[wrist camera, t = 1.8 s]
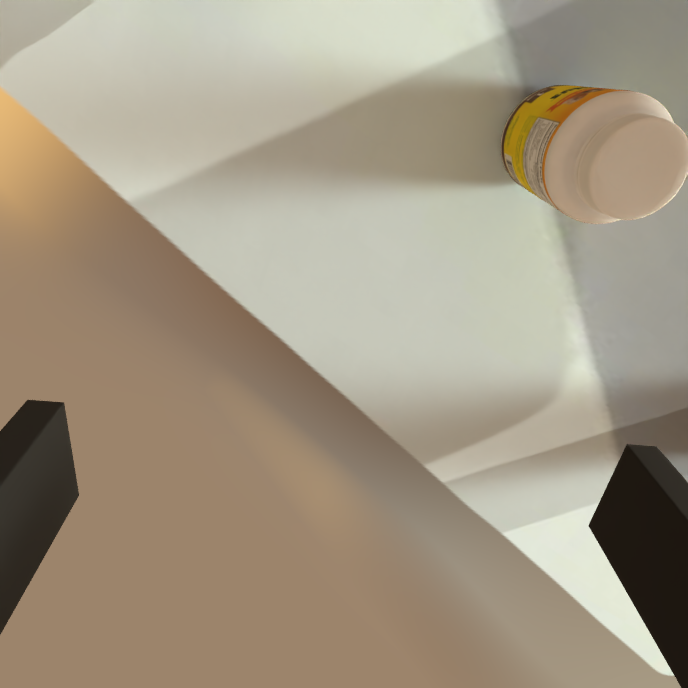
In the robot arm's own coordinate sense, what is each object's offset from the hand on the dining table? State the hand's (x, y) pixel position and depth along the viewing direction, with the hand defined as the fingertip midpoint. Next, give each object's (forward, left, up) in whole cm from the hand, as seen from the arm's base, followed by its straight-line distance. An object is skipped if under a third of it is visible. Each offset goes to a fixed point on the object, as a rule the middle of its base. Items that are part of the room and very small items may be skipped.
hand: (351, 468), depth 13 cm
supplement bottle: (-13, +1, -22) cm, 25 cm away
